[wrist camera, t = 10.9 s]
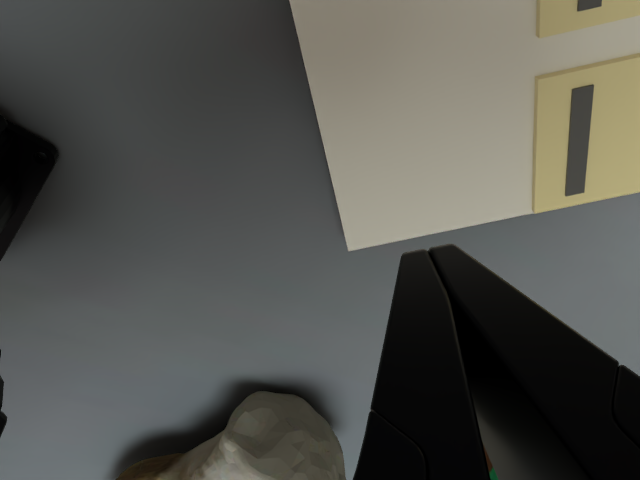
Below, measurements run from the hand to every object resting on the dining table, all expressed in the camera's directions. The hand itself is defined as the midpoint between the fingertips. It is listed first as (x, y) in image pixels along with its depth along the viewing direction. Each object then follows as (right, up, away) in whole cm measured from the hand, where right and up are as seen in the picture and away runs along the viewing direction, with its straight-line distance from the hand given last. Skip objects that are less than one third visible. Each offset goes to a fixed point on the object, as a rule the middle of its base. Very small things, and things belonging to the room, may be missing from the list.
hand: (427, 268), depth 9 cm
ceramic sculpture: (-7, -11, +24) cm, 27 cm away
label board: (+5, +7, +10) cm, 14 cm away
